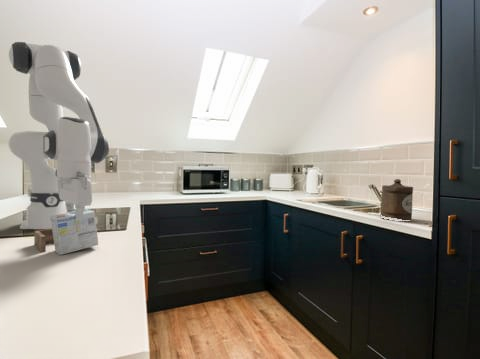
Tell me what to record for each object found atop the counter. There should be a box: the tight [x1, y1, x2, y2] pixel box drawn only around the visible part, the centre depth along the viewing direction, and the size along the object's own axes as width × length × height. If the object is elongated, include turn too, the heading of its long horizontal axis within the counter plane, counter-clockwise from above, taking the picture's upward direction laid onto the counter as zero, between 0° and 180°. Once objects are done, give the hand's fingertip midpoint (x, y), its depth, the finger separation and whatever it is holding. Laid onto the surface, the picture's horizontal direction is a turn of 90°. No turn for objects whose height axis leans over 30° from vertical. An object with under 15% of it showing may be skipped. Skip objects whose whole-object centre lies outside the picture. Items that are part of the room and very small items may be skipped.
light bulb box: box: [50, 208, 99, 256], centre depth 84 cm, size 11×7×11 cm, turn 135°
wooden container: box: [380, 178, 414, 221], centre depth 151 cm, size 15×15×22 cm
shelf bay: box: [33, 228, 54, 253], centre depth 90 cm, size 10×15×4 cm
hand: (74, 217), depth 83 cm, fingers closed on light bulb box, 7 cm apart
